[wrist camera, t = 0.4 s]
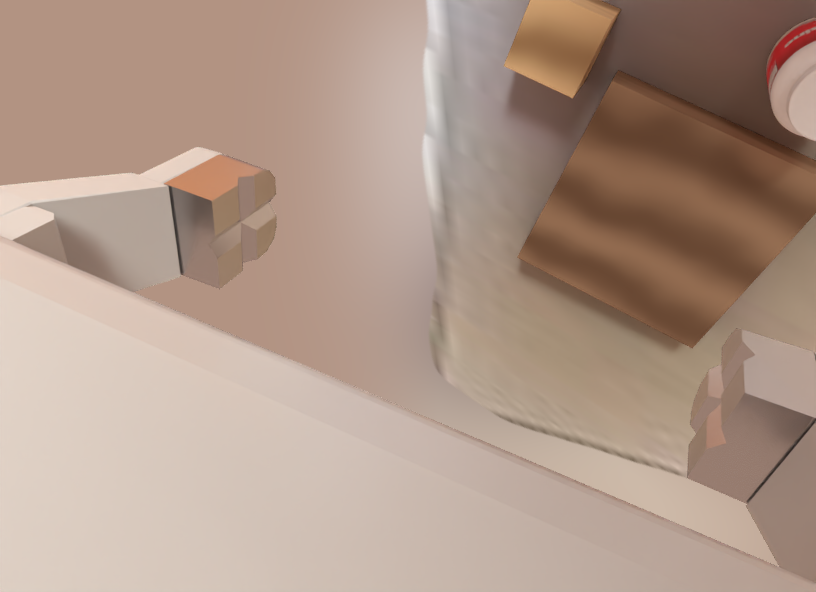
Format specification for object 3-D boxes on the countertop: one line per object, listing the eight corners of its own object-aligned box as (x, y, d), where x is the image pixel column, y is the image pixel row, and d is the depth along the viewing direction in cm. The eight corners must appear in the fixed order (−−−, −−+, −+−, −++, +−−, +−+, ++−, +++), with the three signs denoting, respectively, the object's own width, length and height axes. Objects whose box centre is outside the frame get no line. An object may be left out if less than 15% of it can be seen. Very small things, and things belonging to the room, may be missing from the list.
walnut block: (619, 68, 48) (611, 80, 45) (832, 166, 46) (840, 186, 43) (527, 238, 60) (517, 257, 57) (694, 323, 57) (692, 348, 54)
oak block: (551, -22, 47) (535, -14, 43) (621, 9, 46) (611, 20, 42) (520, 52, 50) (503, 66, 47) (584, 82, 50) (572, 98, 46)
